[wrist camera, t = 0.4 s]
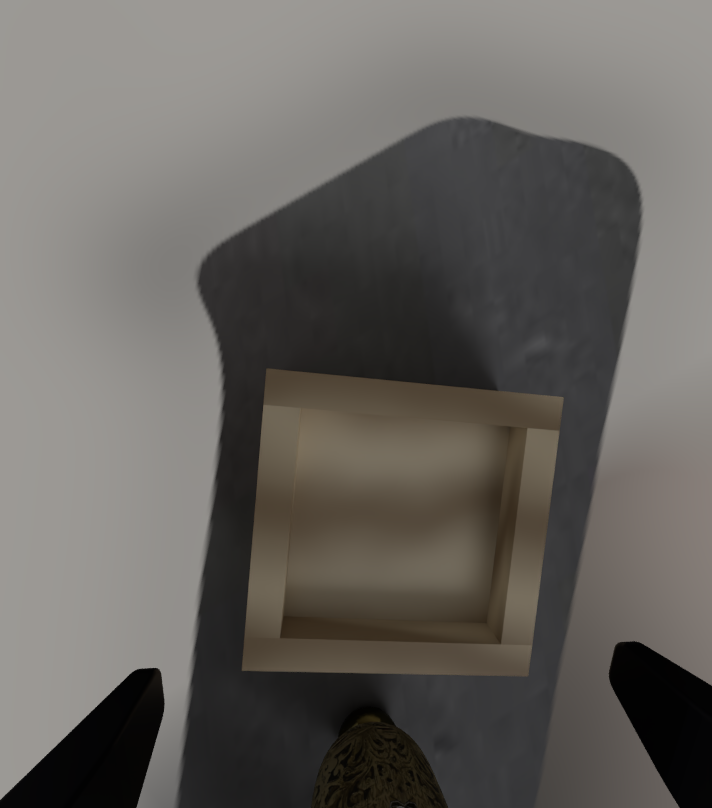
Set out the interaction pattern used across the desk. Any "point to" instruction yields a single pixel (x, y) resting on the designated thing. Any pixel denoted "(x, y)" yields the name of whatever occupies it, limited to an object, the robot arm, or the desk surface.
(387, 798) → the cup
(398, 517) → the wooden box
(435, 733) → the desk surface
